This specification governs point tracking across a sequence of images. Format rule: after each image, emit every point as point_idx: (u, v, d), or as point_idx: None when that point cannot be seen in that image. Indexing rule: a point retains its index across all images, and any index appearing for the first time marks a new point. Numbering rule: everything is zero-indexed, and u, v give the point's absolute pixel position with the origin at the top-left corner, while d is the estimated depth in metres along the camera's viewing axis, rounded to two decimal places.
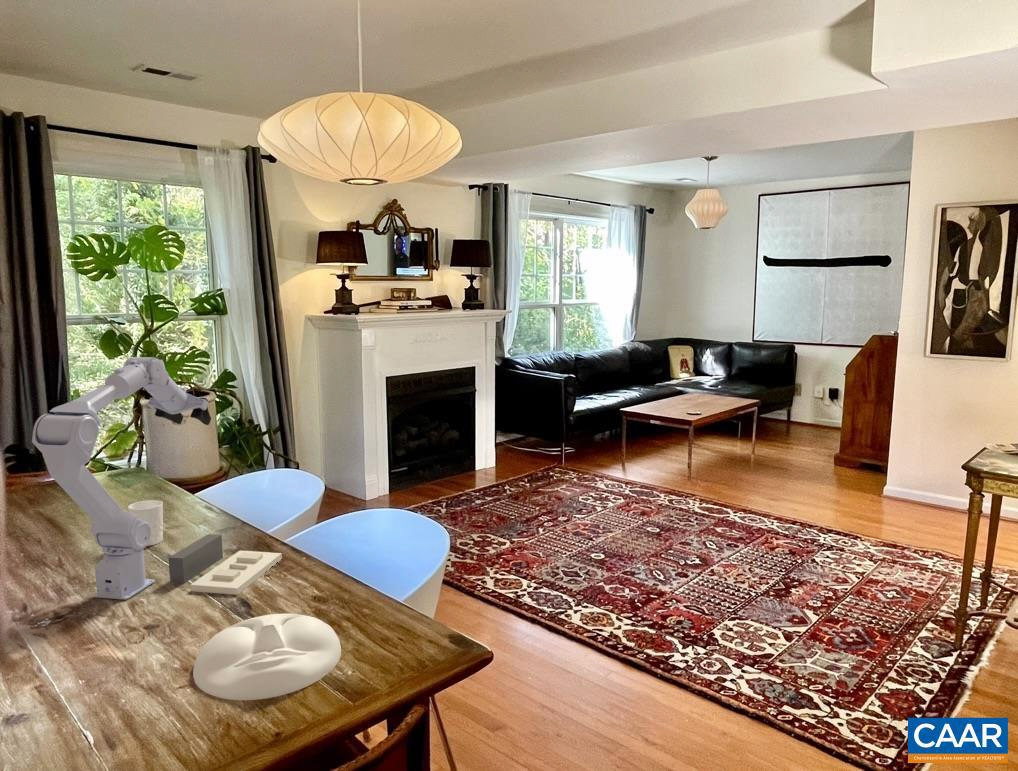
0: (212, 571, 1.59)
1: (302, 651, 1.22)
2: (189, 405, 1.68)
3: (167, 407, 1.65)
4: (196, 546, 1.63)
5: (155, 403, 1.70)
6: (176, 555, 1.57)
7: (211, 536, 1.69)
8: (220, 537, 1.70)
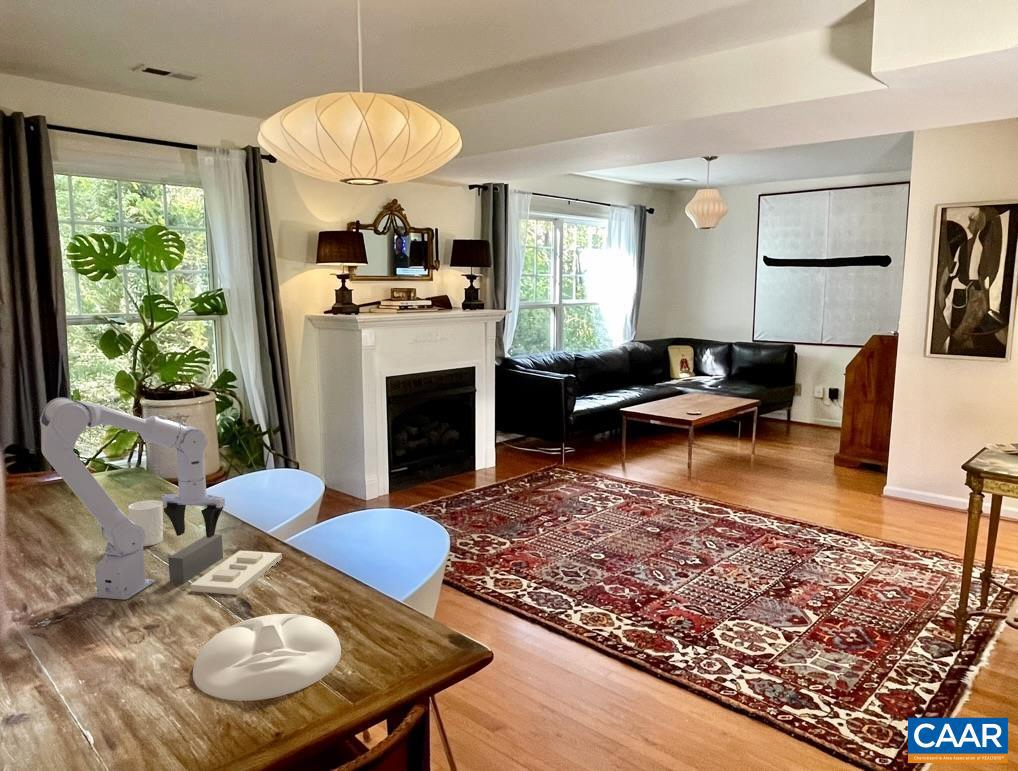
0: (212, 571, 1.59)
1: (302, 651, 1.22)
2: None
3: (185, 492, 1.59)
4: (196, 546, 1.63)
5: (170, 498, 1.62)
6: (176, 555, 1.57)
7: None
8: (220, 537, 1.70)
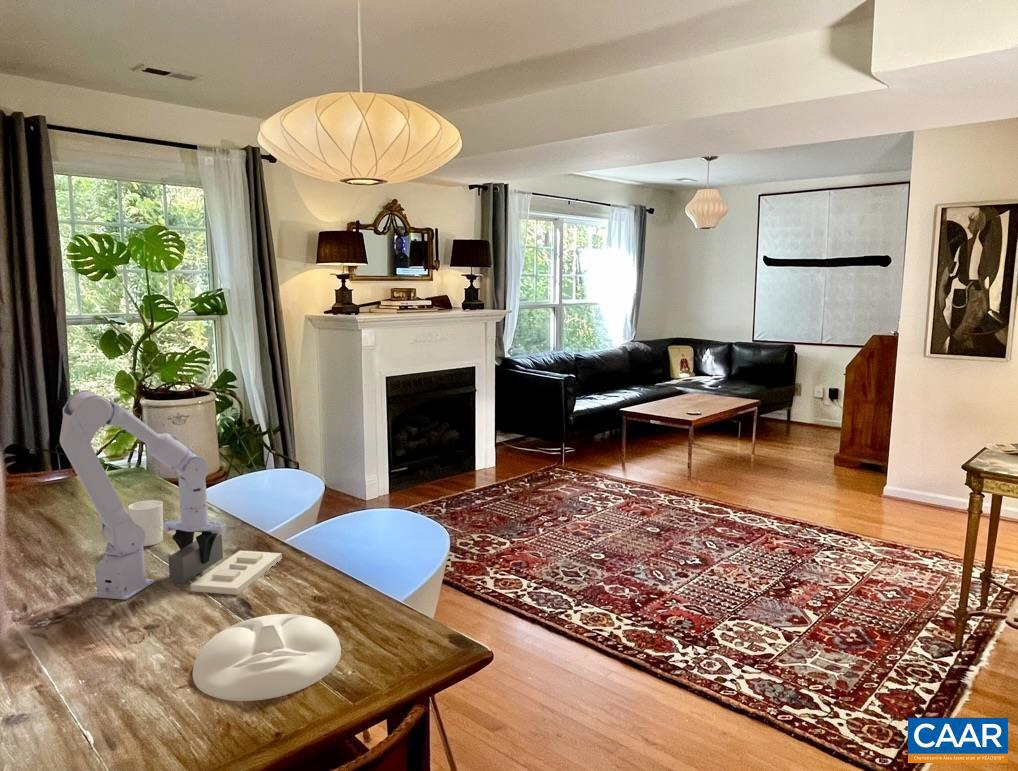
0: (212, 571, 1.59)
1: (302, 651, 1.22)
2: None
3: (187, 519, 1.60)
4: (196, 545, 1.63)
5: None
6: (176, 554, 1.57)
7: None
8: (220, 536, 1.70)
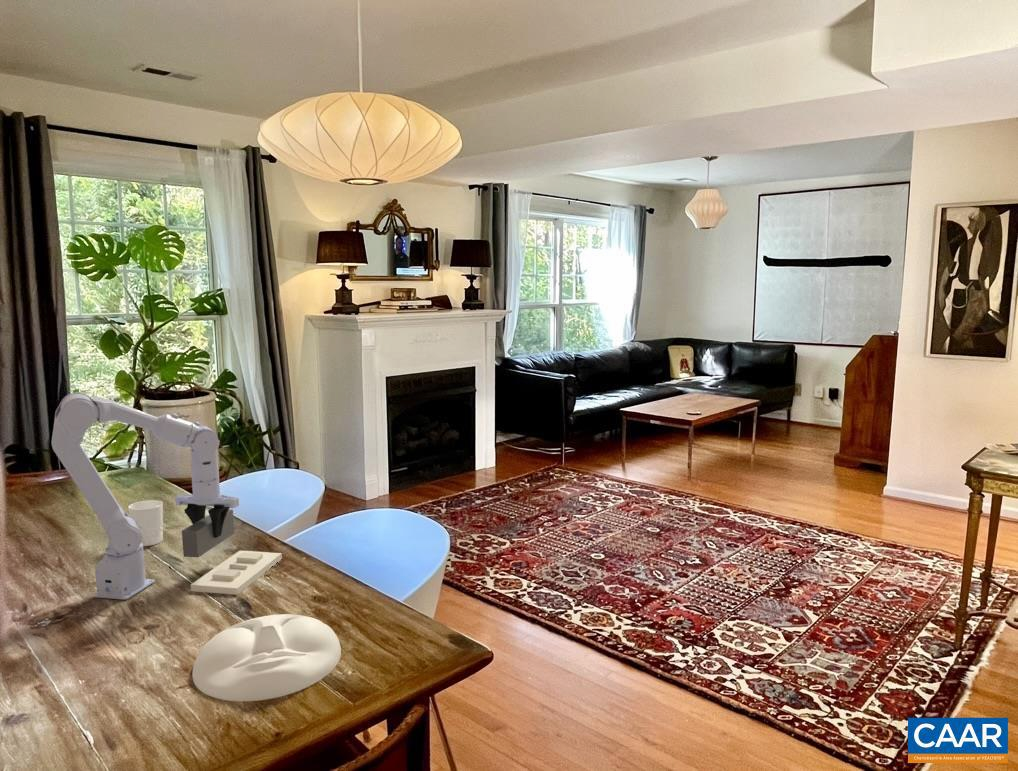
0: (212, 571, 1.59)
1: (302, 652, 1.22)
2: None
3: (199, 492, 1.58)
4: (208, 520, 1.61)
5: None
6: (189, 528, 1.56)
7: None
8: (231, 512, 1.68)
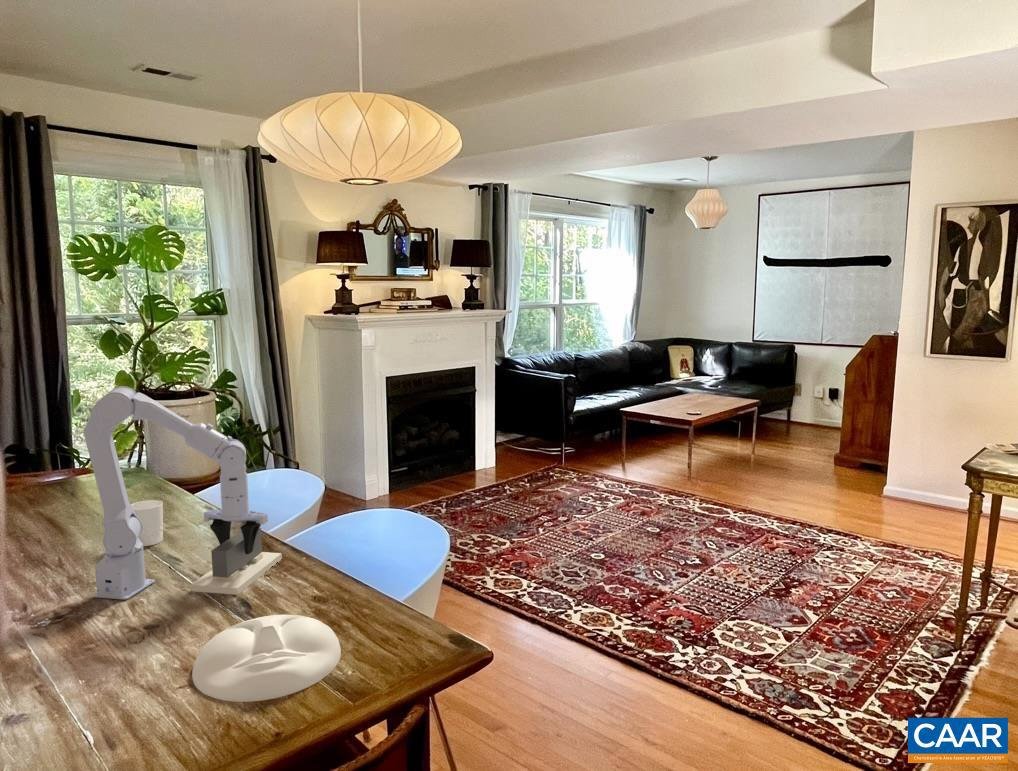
0: (212, 571, 1.59)
1: (302, 652, 1.22)
2: None
3: (228, 508, 1.56)
4: (237, 539, 1.60)
5: (212, 514, 1.60)
6: (219, 548, 1.54)
7: None
8: (260, 530, 1.67)
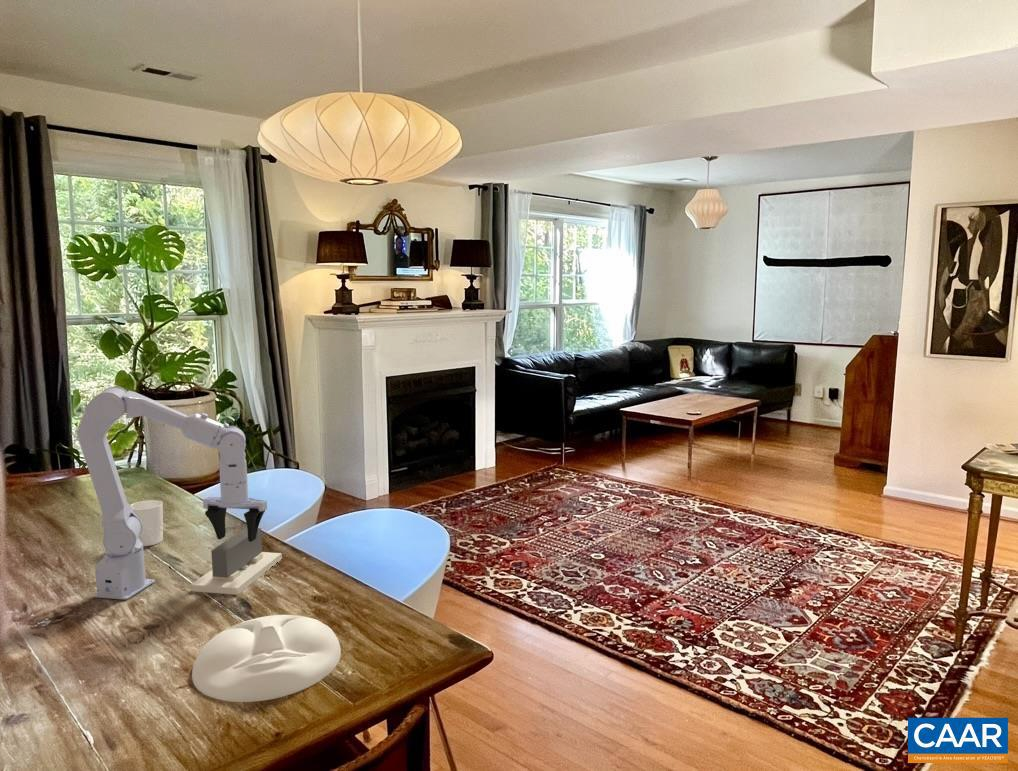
0: (212, 571, 1.59)
1: (302, 652, 1.22)
2: None
3: (227, 495, 1.56)
4: (237, 539, 1.60)
5: (211, 501, 1.59)
6: (219, 548, 1.54)
7: None
8: (260, 530, 1.67)
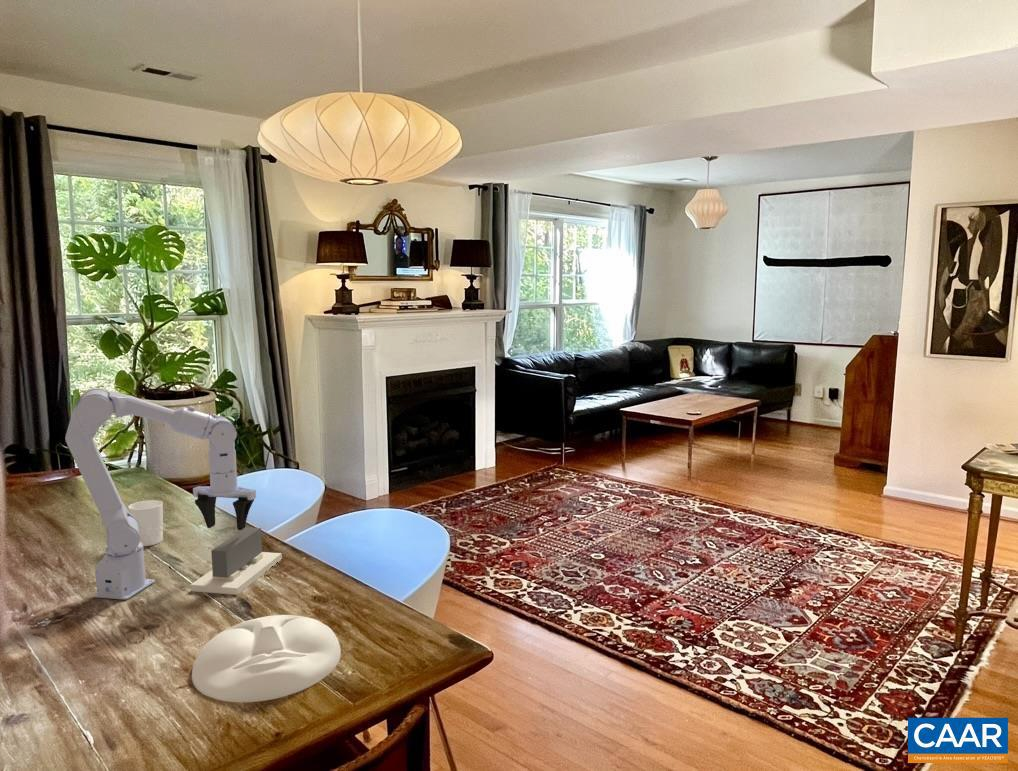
0: (212, 571, 1.59)
1: (301, 652, 1.22)
2: None
3: (216, 484, 1.58)
4: (237, 539, 1.60)
5: (201, 490, 1.61)
6: (219, 548, 1.54)
7: (250, 529, 1.66)
8: (260, 530, 1.67)
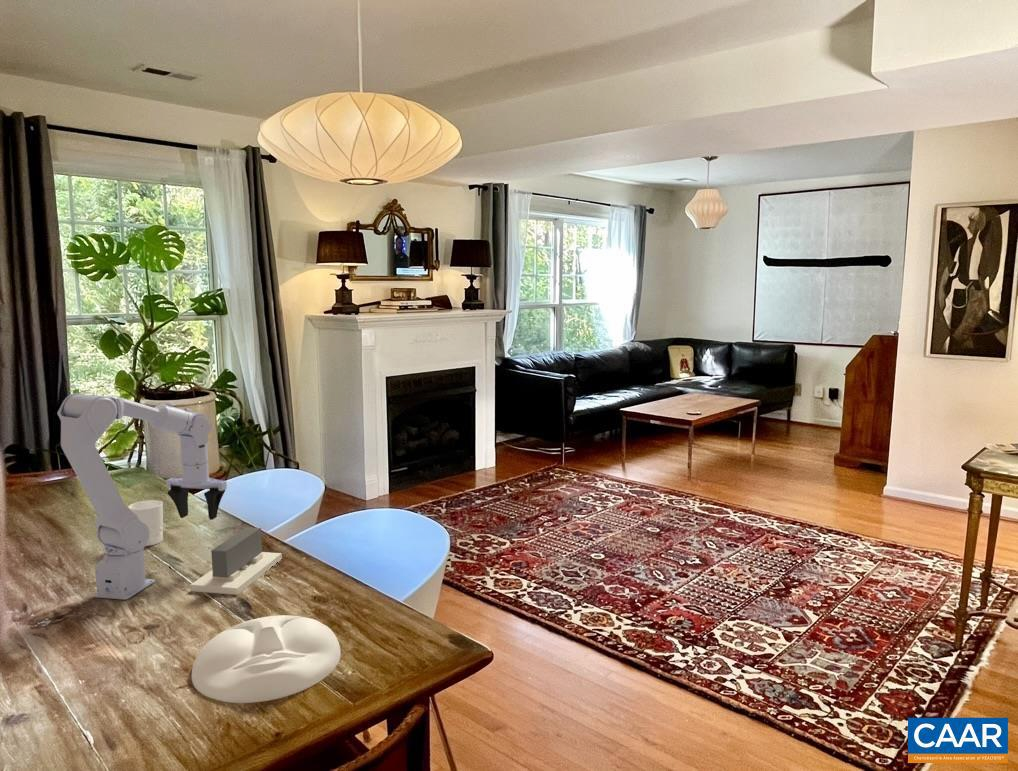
0: (212, 571, 1.59)
1: (301, 653, 1.21)
2: None
3: (188, 475, 1.65)
4: (237, 539, 1.60)
5: (174, 481, 1.68)
6: (219, 548, 1.54)
7: (250, 529, 1.66)
8: (260, 530, 1.67)
